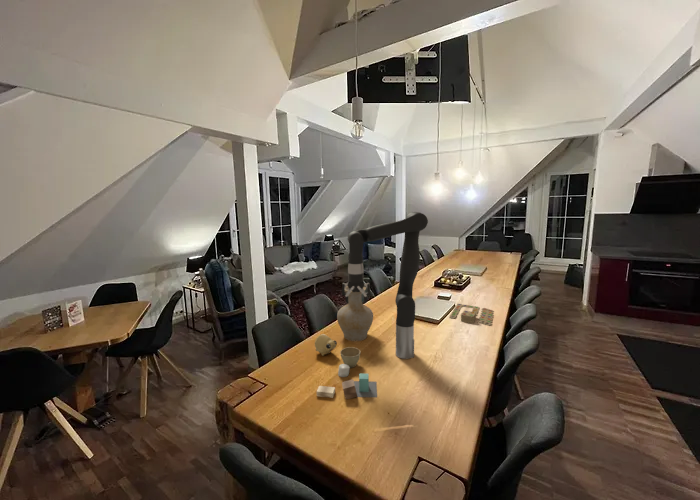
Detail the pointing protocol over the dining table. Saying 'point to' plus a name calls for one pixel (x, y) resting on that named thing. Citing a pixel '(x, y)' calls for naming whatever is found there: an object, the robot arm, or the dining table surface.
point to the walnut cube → (349, 389)
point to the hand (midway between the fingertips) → (356, 303)
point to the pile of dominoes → (473, 314)
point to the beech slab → (326, 391)
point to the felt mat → (371, 392)
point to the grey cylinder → (343, 370)
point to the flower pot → (350, 356)
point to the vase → (355, 317)
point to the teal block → (363, 382)
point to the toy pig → (324, 344)
